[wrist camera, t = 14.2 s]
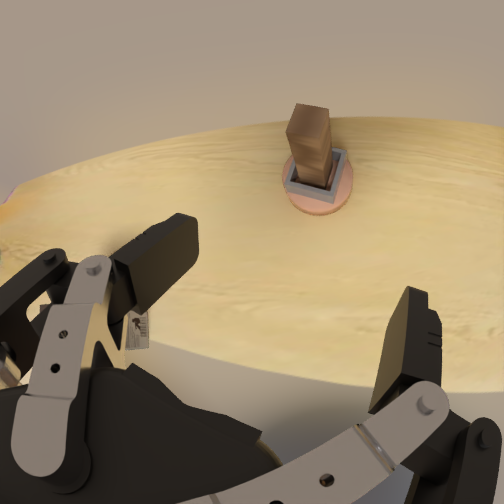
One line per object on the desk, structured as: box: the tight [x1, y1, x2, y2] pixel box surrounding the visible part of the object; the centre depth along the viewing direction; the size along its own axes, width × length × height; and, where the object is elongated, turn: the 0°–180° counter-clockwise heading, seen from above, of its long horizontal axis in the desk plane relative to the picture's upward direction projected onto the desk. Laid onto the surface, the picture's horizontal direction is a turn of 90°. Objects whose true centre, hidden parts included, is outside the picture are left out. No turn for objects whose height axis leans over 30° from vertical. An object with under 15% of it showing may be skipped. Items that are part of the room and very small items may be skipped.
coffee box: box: [40, 304, 149, 350], centre depth 39 cm, size 9×6×16 cm
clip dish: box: [282, 147, 353, 216], centre depth 41 cm, size 10×10×6 cm
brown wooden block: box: [286, 104, 333, 190], centre depth 34 cm, size 4×4×13 cm
